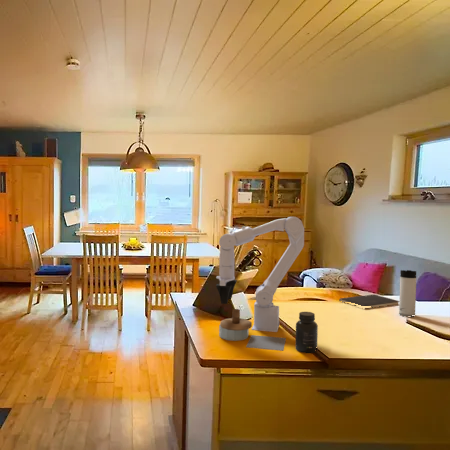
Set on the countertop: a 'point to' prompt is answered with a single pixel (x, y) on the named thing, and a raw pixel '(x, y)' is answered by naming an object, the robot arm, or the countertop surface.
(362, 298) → the hardcover book
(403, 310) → the travel mug
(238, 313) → the lid
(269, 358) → the countertop surface
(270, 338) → the mat
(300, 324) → the supplement bottle
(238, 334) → the bowl
